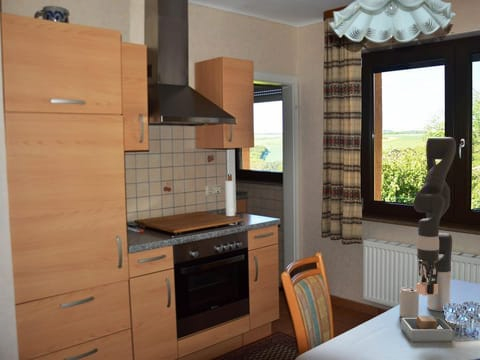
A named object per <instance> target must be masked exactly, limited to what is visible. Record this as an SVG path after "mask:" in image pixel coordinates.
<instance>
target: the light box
mask: <svg viewBox="0 0 480 360" xmlns="http://www.w3.org/2000/svg"><path fill="white" fill-rule="evenodd" d="M416 289H417V293H419V295H422V296H424V297H425V296H426V297H427V295H434V294H438V284H435V285H434V294H427V282H421V281H420V282H417V283H416Z"/></svg>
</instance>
